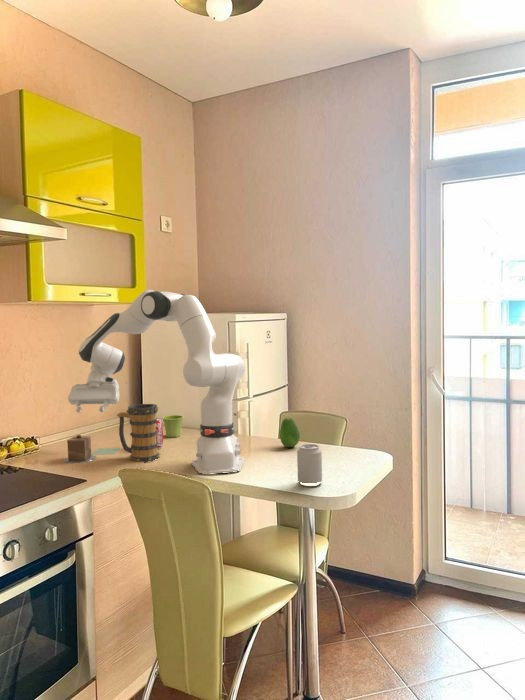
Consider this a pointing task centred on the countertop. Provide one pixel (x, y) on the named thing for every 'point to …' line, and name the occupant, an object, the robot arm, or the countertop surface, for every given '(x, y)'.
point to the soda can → (159, 433)
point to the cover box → (79, 448)
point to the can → (309, 463)
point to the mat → (106, 451)
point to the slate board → (80, 461)
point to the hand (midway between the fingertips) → (89, 411)
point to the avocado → (289, 433)
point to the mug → (141, 432)
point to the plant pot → (173, 425)
